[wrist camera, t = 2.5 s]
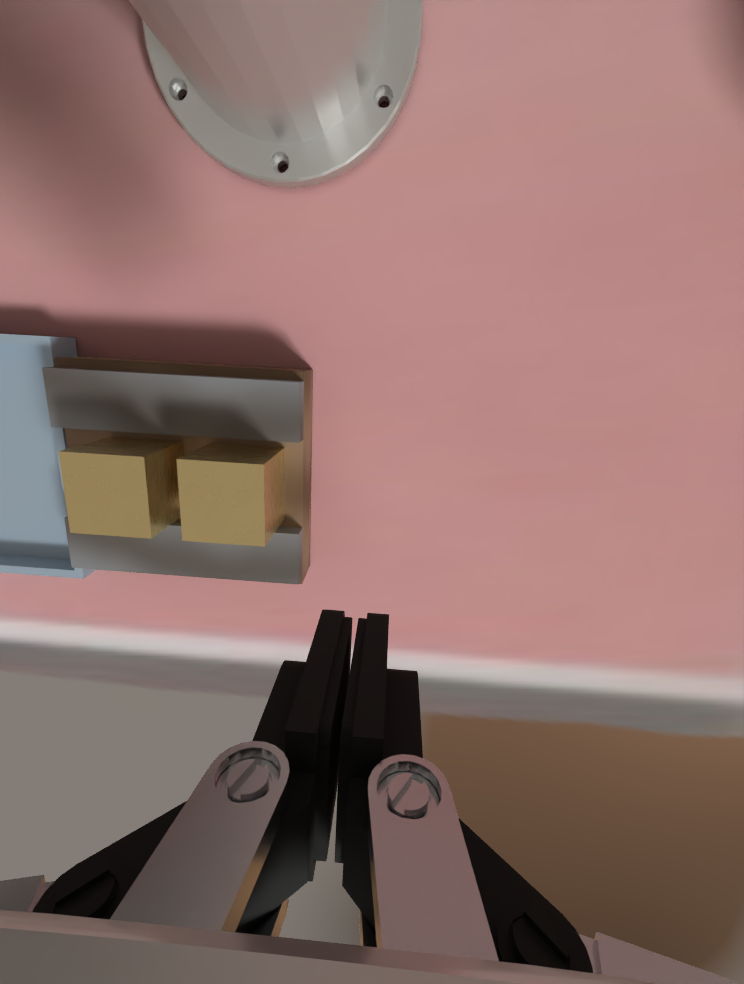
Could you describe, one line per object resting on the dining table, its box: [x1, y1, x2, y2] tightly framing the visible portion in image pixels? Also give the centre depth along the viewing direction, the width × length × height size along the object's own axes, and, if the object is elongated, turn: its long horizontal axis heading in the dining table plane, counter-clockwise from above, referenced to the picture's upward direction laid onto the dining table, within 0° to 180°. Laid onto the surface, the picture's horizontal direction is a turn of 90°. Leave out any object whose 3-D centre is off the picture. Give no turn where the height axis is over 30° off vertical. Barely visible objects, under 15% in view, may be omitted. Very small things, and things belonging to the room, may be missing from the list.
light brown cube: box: [176, 443, 285, 547], centre depth 23 cm, size 4×4×4 cm
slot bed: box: [42, 357, 313, 584], centre depth 26 cm, size 12×13×4 cm
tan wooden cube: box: [58, 437, 184, 539], centre depth 24 cm, size 4×4×4 cm
